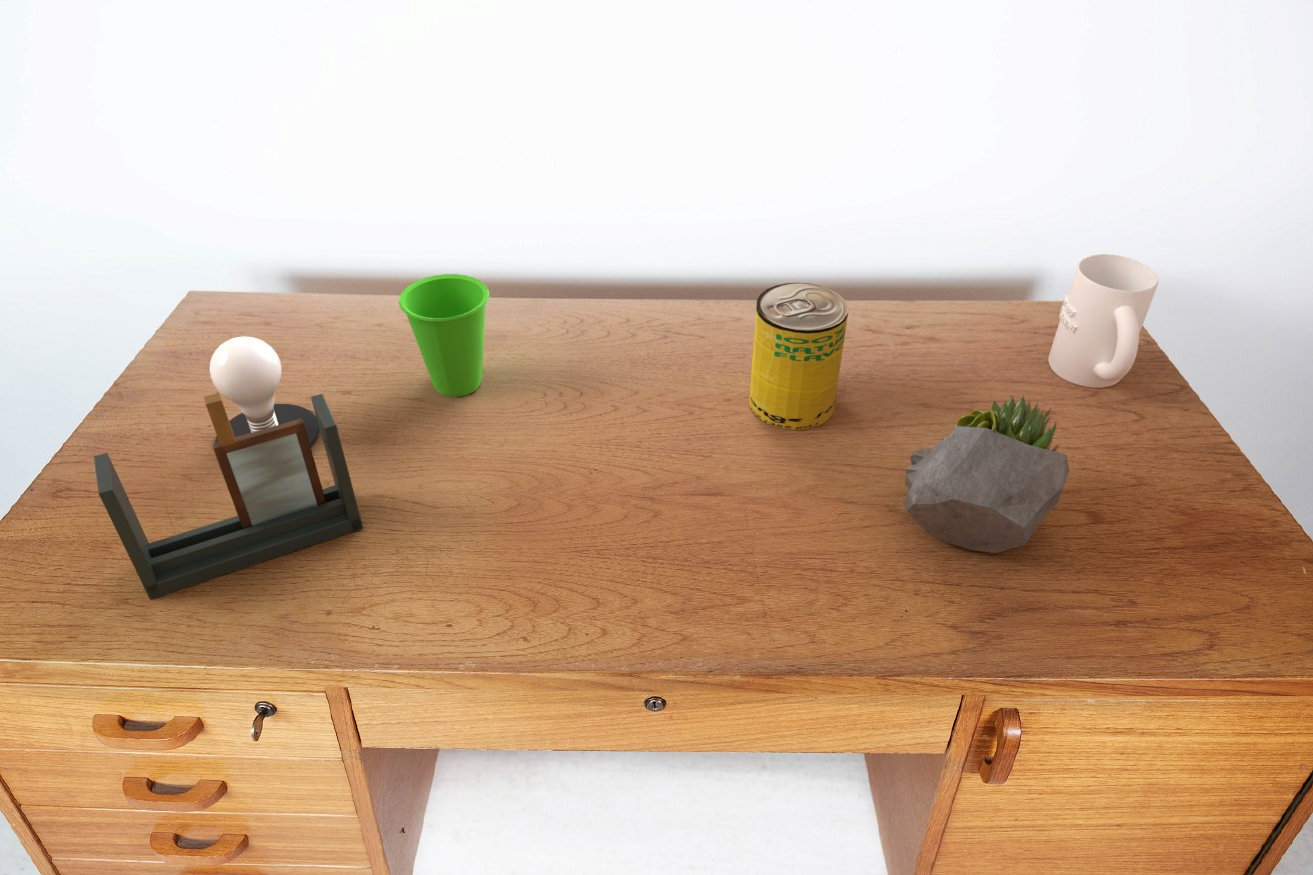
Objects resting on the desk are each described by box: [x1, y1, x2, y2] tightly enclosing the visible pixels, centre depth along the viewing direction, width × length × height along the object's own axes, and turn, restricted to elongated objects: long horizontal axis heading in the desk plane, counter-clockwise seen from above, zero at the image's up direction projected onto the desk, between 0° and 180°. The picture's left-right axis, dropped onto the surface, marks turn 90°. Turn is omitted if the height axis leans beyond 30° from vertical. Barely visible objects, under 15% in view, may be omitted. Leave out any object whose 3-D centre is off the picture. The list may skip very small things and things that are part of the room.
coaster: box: [214, 403, 321, 448], centre depth 97 cm, size 10×10×1 cm
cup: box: [398, 273, 490, 398], centre depth 101 cm, size 9×9×11 cm
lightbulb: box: [208, 335, 283, 433], centre depth 94 cm, size 6×6×11 cm
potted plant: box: [902, 394, 1070, 554], centre depth 86 cm, size 12×13×15 cm
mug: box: [1047, 253, 1159, 389], centre depth 102 cm, size 8×12×12 cm
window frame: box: [93, 393, 364, 600], centre depth 82 cm, size 18×5×12 cm, turn 118°
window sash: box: [203, 392, 326, 529], centre depth 81 cm, size 7×1×14 cm, turn 118°
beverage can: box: [748, 282, 849, 431], centre depth 99 cm, size 9×9×12 cm
